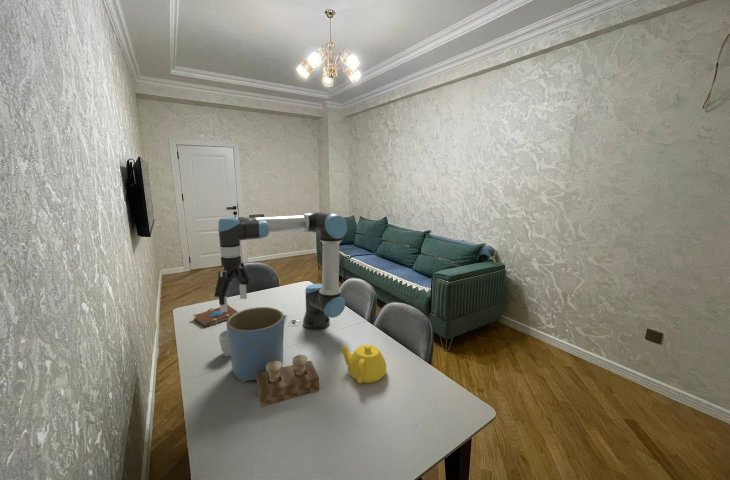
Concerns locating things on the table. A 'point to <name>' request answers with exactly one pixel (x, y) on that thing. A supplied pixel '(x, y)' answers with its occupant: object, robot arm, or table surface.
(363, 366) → the teapot
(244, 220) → the robot arm
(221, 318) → the book
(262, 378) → the socket block
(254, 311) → the planter
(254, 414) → the table surface
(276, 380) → the peg
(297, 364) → the peg
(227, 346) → the cup
